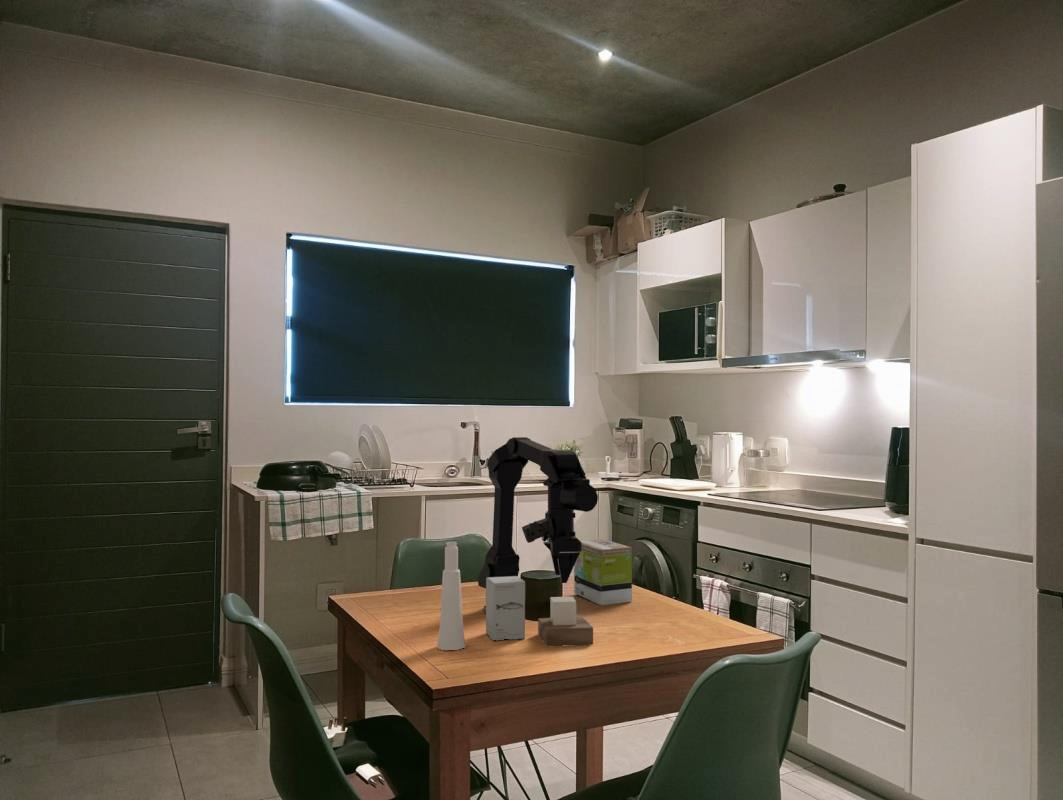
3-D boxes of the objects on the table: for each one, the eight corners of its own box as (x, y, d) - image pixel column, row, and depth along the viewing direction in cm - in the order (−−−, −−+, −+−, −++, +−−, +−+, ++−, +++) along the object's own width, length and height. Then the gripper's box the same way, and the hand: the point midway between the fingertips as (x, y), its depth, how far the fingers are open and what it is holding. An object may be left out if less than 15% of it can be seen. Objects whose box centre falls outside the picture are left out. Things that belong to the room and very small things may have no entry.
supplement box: (492, 641, 177) (492, 583, 177) (485, 633, 184) (485, 576, 184) (525, 639, 179) (525, 581, 179) (517, 631, 186) (517, 575, 186)
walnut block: (538, 636, 183) (538, 618, 183) (581, 634, 184) (581, 616, 184) (547, 648, 173) (547, 629, 173) (593, 646, 175) (593, 627, 175)
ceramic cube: (550, 619, 181) (550, 597, 181) (572, 619, 182) (572, 596, 182) (553, 625, 176) (553, 602, 176) (576, 624, 177) (576, 601, 177)
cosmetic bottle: (471, 647, 172) (471, 542, 173) (448, 653, 168) (448, 545, 169) (453, 641, 177) (453, 539, 177) (431, 647, 172) (431, 542, 173)
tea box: (572, 594, 224) (572, 540, 225) (604, 591, 228) (604, 538, 229) (600, 606, 211) (600, 548, 211) (633, 602, 215) (633, 545, 215)
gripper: (520, 503, 189) (520, 572, 188) (529, 512, 170) (529, 588, 170) (567, 503, 190) (568, 570, 190) (581, 512, 172) (582, 587, 171)
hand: (560, 578), depth 180 cm, fingers open, 9 cm apart
